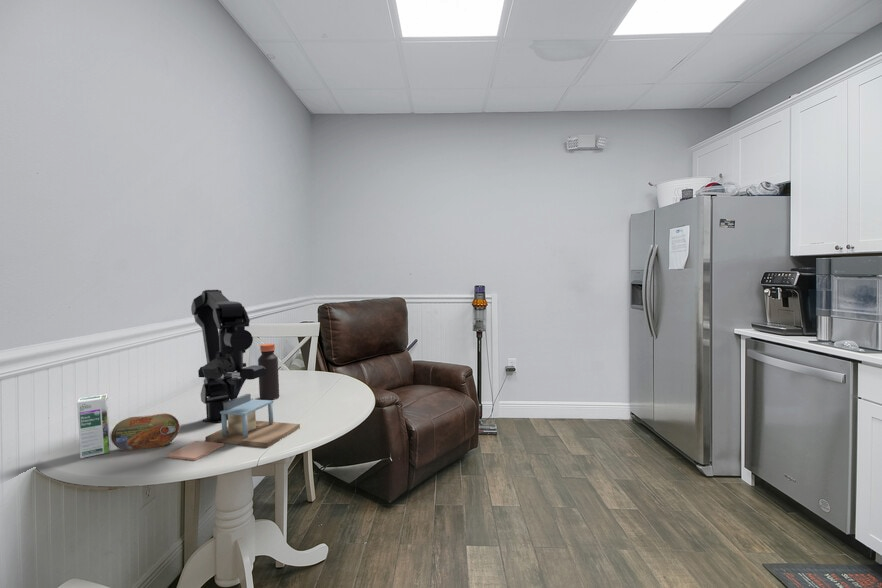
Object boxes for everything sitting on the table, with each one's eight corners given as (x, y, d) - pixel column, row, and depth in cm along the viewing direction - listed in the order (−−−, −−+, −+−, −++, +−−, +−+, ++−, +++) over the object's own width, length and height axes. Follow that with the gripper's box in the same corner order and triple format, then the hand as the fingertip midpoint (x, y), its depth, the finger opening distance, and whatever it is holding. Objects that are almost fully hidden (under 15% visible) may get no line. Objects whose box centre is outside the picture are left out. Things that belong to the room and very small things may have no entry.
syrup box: (79, 459, 102) (76, 401, 101) (82, 451, 107) (79, 396, 106) (109, 453, 105) (106, 397, 105) (110, 445, 110) (107, 392, 109)
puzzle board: (205, 441, 111) (205, 436, 111) (242, 423, 125) (242, 419, 125) (267, 447, 106) (267, 442, 106) (299, 428, 120) (299, 424, 120)
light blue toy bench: (221, 436, 111) (219, 404, 111) (251, 421, 123) (250, 392, 122) (245, 438, 109) (244, 405, 109) (274, 423, 120) (272, 393, 120)
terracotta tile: (166, 457, 102) (166, 454, 102) (196, 443, 110) (196, 440, 110) (195, 460, 99) (195, 458, 99) (223, 445, 108) (223, 443, 108)
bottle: (269, 394, 156) (267, 342, 155) (283, 396, 153) (281, 343, 153) (255, 399, 150) (253, 345, 149) (269, 401, 147) (267, 346, 146)
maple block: (228, 436, 115) (227, 411, 115) (241, 429, 120) (240, 406, 119) (243, 437, 114) (242, 412, 113) (256, 431, 118) (255, 407, 118)
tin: (111, 452, 105) (109, 420, 105) (117, 448, 108) (115, 416, 108) (177, 444, 110) (176, 413, 109) (181, 440, 113) (180, 410, 112)
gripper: (180, 351, 111) (182, 408, 112) (236, 352, 106) (239, 412, 107) (213, 344, 122) (215, 396, 122) (266, 345, 117) (268, 399, 117)
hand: (233, 401), depth 117 cm, fingers closed
